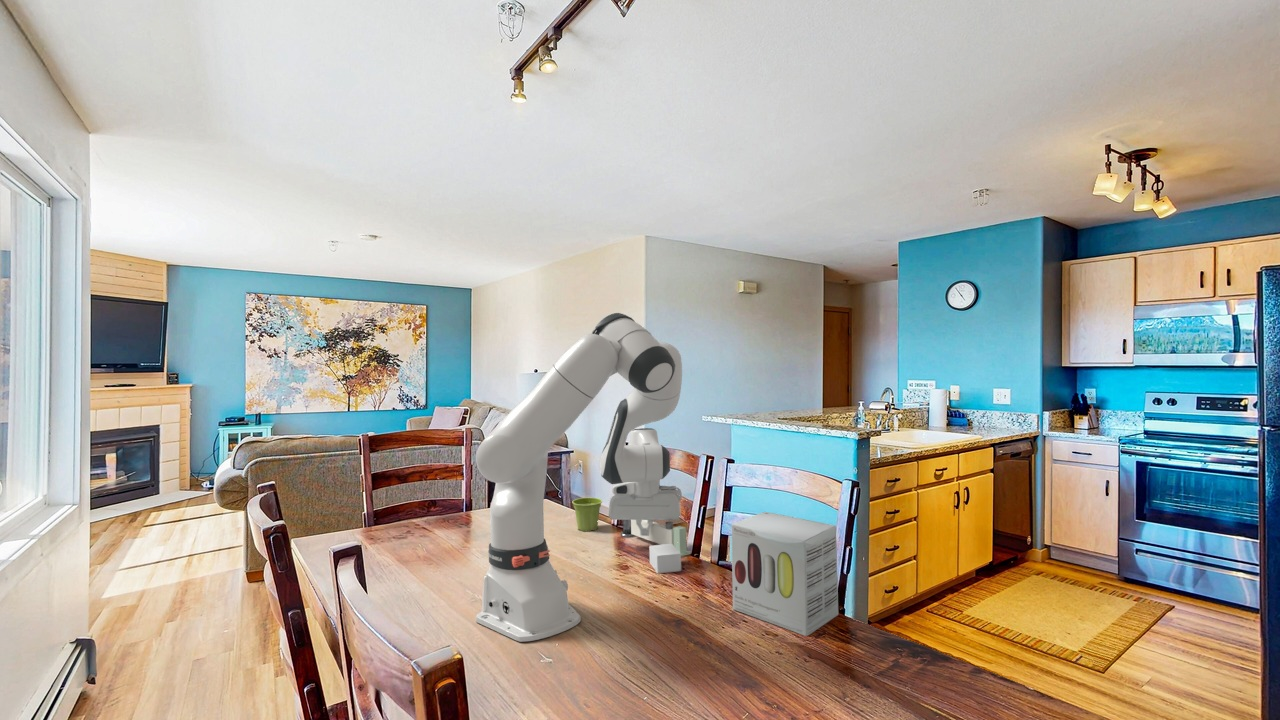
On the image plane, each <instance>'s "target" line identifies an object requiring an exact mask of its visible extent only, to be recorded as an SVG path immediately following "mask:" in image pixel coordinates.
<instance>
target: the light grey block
mask: <svg viewBox="0 0 1280 720" xmlns="http://www.w3.org/2000/svg"><path fill="white" fill-rule="evenodd" d="M648 551H649V564H650V565H651V566H652V568H653V570H655V572H656V573H657V574H664V573H674V572H682V557H681V553H680V552H679V551H678V550H677V549H676V548H675V547H674V546H673V544H663V545H661V544H656V545H649V550H648Z"/></svg>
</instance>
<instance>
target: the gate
mask: <svg viewBox="0 0 1280 720" xmlns="http://www.w3.org/2000/svg"><path fill="white" fill-rule="evenodd" d="M641 525H642V526H643V528H647V527H648V525H649V524H648V522H647V520H642V522H641ZM673 528H674V523H673V521H665V525H664V524H661V523H658V522H656V521H655V522H654V521H653V524H652V526H651V527H650V529H649V536H641V535H640V529H639V527H638V526H637V524H636V520H631V534H633V535H635V536H636V537H639V538H642V539H643V540H647V541H650V542H652V543H655V544H657V545H663V544H673V546H674V533H673ZM670 538H671V539H670Z"/></svg>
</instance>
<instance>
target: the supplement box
mask: <svg viewBox="0 0 1280 720" xmlns="http://www.w3.org/2000/svg"><path fill="white" fill-rule="evenodd" d="M837 548H838V547H837V526H836V525H835V524H831V523H830V524H829V523H826V522H825V523H824V522H819V521H814V520H811V519H810V520H809V519H804V518H801V517H800V518H799V517H794V516H789V515H784V514H779V513H775V512H774V513H773V512H768V511H764V512H761V513H757V514H754V515H751V516H748V517H746V518H742V519H741V520H738V521H735V522H733V523H731V565H732V566H731V569H732V573H731V575H732V576H731V577H732V579H731V580H732V582H731V583H732V610H733V611H737V612H740V613H743V614H745V615H748V616H750V617H753V618H755V619H757V620H761V621H764V622H767V623H770V624H772V625H775V626H778V627H780V628H783V629H784V630H785V629H786V630H788V631H792V632H794V633H797V634H799V635H801V636H805V637H808V636H809V635H811V634H813V633H814V632H815V631H816V630H818V629H820V628H821V627H823V626H824V625H826V624H827V623H829V622H831V620H833V619H834V618H836V617H838V616H839V592H838V591H839V589H838V554H837V553H838V552H837V551H838V549H837Z"/></svg>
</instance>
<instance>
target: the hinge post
mask: <svg viewBox="0 0 1280 720" xmlns="http://www.w3.org/2000/svg"><path fill="white" fill-rule="evenodd" d="M635 536H636V535H633V534H631V520H622V531H621V532H620V537H622V538H633V537H635Z"/></svg>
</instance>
